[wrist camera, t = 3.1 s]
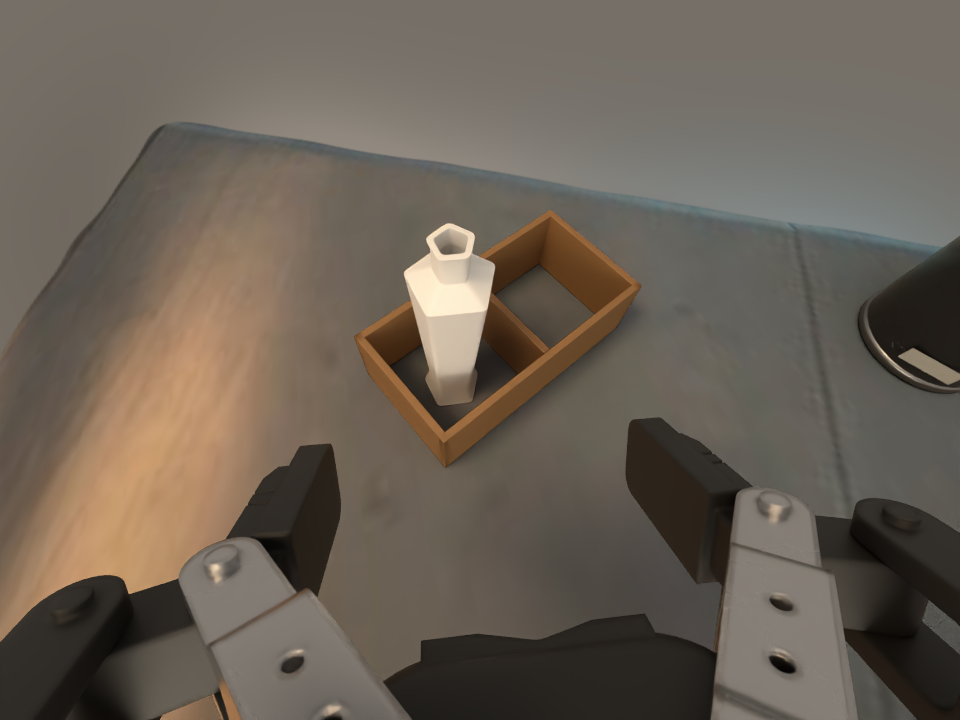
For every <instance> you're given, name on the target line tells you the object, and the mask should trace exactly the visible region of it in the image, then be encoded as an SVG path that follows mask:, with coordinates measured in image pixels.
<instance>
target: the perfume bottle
mask: <svg viewBox="0 0 960 720" xmlns="http://www.w3.org/2000/svg"><path fill="white" fill-rule="evenodd" d="M474 240H475V236H474V234H473V233H472V232H470V231H467V230H465V229H463V228H460V227H458V226H456V225H453V224H450V223H449V224H445V225H443V226H442V227H440V228H439V229H438V230H436V231H435V232H433V233H432V234H430V235H429V236H428V237H427V239H426V241H427V243H428V245H429V247H430V253H429V254H428V255H427V256H425V257H424V258H422V259H421V260H420V261H418V262H417V263H415V264H414V265H412V266H411V267H410V268H408V269H407V270H406V271H405V272H404V276H405V280H406V283H407V287H408V291H409V295H410V299H411V302H412V306H413V310H414V314H415V318H416V322H417V325H418V329H419V333H420V337H421V341H422V344H423V348H424V352H425V356H426V360H427V363H428V367H429V371H428V373H427V375H426V377H425V381H426V383H427V385H428V387H429V389H430V391H431V393H432V395H433V397H434V399H435V401H436V403H437V405H439V406H445V405H453V404H461V403H469V402H471V401H472V400H473V397H474V391H475V386H476V380H477V371H476V369H475V367H474V366H475V362H476V357H477V353H478V348H479V344H480V339H481V335H482V331H483V326H484V322H485V317H486V313H487V308H488V303H489V298H490V293H491V287H492V282H493V276H494V271H495V265H494V263H492V262H490V261H488V260H486V259H483V258H481V257H479V256H476V255H474V254H472V249H473V244H474Z"/></svg>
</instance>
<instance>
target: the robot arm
mask: <svg viewBox="0 0 960 720" xmlns="http://www.w3.org/2000/svg"><path fill="white" fill-rule="evenodd" d="M859 327H860V331H861V335H862V337H863V339H864V341H865V343H866V345H867V347H868V348H869V350H870V351H871V352H872V354H873V355H874V356H875V357H876V359H877V360H878V361H879V362H880V363H881V364H882V365H883V366H885V367H886V368H887V369H888V370H889V371H891V372H892V373H893V374H895V375H896V376H897V377H899V378H901V379H902V380H904V381H906V382H908V383H910V384H912V385H914V386H916V387H919V388H922V389H925V390H928V391H932V392H938V393H956V392H960V236H959V237H957V238H956V239H955V240H953V241H952V242H951V243H949V244H948V245H947V246H945V247H943V248H942V249H941V250H939V251H938V252H936V253H935V254H934V255H932V256H931V257H929V258H928V259H927V260H925V261H924V262H922V263H921V264H920V265H918V266H917V267H915V268H914V269H912V270H911V271H909V272H908V273H907V274H905V275H904V276H902V277H901V278H900V279H898V280H897V281H895V282H894V283H893V284H891V285H890V286H888V287H887V288H886V289H884V290H882V291H880V292H878V293H876V294H875V295H874V296H872V297H871V298H869V299H868V300H867V301H866V302H865V303H864V304H863V306H862V308H861V310H860V314H859ZM626 481H627V485H628V488H629V490H630V492H631V494H632V495H633V497H634V498H635V499H636V501H637V502H638V504H639V505H640V506H641V508H642V509H643V510H644V512H645V513H646V515H647V516H648V517H649V519H650V520H651V522H652V523H653V524H654V526H655V527H656V528H657V530H658V531H659V533H660V534H661V535H662V537H663V538H664V539H665V541H666V542H667V544H668V545H669V546H670V548H671V549H672V550H673V552H674V553H675V555H676V556H677V557H678V559H679V560H680V561H681V563H682V564H683V566H684V567H685V568H686V570H687V571H688V572H689V574H690V575H691V577H692V578H693V579H694V581H695V582H696V583H697V584H701V583H709V582H719V583H720V584H721V585H722V588H721V595H720V601H719V609H718V616H717V624H716V632H715V639H714V647H713V651H711V650H709V649H707V648H705V647H703V646H701V645H698V644H696V643H694V642H691V641H688V640H685V639H682V638H679V637H676V636H671V635H667V634H662V633H655V631H654V629H653V627H652V626H651V624H650V622H649V620H648V618H647V616H646V615H645V614H637V615H629V616H621V617H612V618H604V619H596V620H591V621H588V622H585V623H583V624H580V625H578V626H575V627H573V628H570V629H567V630H565V631H562V632H560V633H557V634H555V635H552V636H549V637H547V638H544V639H540V640H530V639H521V638H511V637H502V636H493V635H484V634H473V635H464V636H456V637H448V638H440V639H431V640H423V641H421V661H420V662H418V663H415V664H413V665H410V666H408V667H406V668H404V669H402V670H401V671H399V672H397V673H395V674H394V675H392V676H391V677H389V678H388V679H386V680H385V681H383V682H382V680H381V679H380V678H379V677H378V675H377V674H376V673H375V671H374V670H373V669H372V668H371V666H370V665H369V664H368V662H367V661H366V660H365V659H364V657H363V656H362V655H361V653H360V652H359V651H358V650H357V648H356V647H355V646H354V645H353V643H352V642H351V641H350V639H349V638H348V637H347V636H346V634H345V633H344V632H343V630H342V629H341V628H340V627H339V625H338V624H337V623H336V621H335V620H334V619H333V618H332V616H331V615H330V614H329V612H328V611H327V610H326V609H325V607H324V606H323V605H322V603H321V602H320V601H319V600H318V598H317V596H318V593H319V589H320V586H321V582H322V579H323V576H324V572H325V569H326V565H327V562H328V558H329V555H330V551H331V548H332V544H333V541H334V537H335V534H336V531H337V527H338V524H339V520H340V512H341V499H340V491H339V484H338V477H337V471H336V464H335V457H334V451H333V448H332V445H331V444H318V445H306V446H300V447H299V448H298V450H297V452H296V454H295V456H294V458H293V459H292V461H291V463H290V465H289V466H282V467H278V468H277V469H275V470H274V471H273V472H271V473H270V474H269V475H268V476H266V477H265V478H264V479H263V480H262V482H261V483H260V485H259V486H258V488H257V490H256V491H255V495H253V496H252V498H251V499H250V501H249V502H248V506H246V507H245V509H244V511H243V512H242V514H241V515H240V517H239V519H238V520H237V522H236V523H235V525H234V527H233V528H232V530H231V531H230V533H229V535H228V536H227V538H226V539H225V540H223V541H219V542H217V543H214V544H212V545H210V546H208V547H206V548H204V549H202V550H201V551H199V552H198V553H196V554H195V555H194V556H192V557H191V558H190V559H189V560H188V561H187V562H186V563H185V565H184V566H183V567H182V569H181V571H180V573H179V578H178V579H176V580H173V581H170V582H167V583H164V584H161V585H158V586H154V587H151V588H148V589H145V590H142V591H138V592H135V593H132V594H128V591H127V588H126V585H125V582H124V581H123V579H121V578H120V577H117V576H113V575H103V576H96V577H91V578H87V579H84V580H81V581H78V582H75V583H73V584H71V585H68V586H66V587H64V588H62V589H60V590H58V591H56V592H55V593H53V594H51V595H50V596H48V597H47V598H45V599H44V600H42V601H41V602H39V603H38V604H37V605H36V606H35V607H33V608H32V609H31V610H30V611H29V612H28V613H27V614H26V615H25V616H24V617H23V618H22V619H21V621H20V622H19V623H18V624H17V625H16V626H15V627H14V628H13V629H12V630H11V631H10V632H9V633H8V635H7V636H6V637H5V638H4V639H3V640H2V641H1V642H0V720H160V718H161V716H162V715H163V714H166V713H168V712H171V711H173V710H176V709H178V708H180V707H183V706H185V705H188V704H190V703H193V702H195V701H198V700H200V699H202V698H205V697H207V696H210V695H213V698H214V701H215V703H216V706H217V709H218V711H219V714H220V716H221V719H222V720H858V715H857V709H856V703H855V697H854V691H853V685H852V679H851V673H850V667H849V661H848V655H847V649H846V642H845V640H846V641H847V642H848V643H849V645H850V646H851V647H852V648H853V649H854V650H855V651H856V652H857V653H858V654H859V656H860V657H861V658H862V659H863V660H864V661H865V662H866V663H867V664H868V665H869V667H870V668H871V669H872V670H873V671H874V672H875V673H876V674H877V675H878V677H879V678H880V679H881V680H882V681H883V682H884V683H885V684H886V685H887V686H888V688H889V689H890V690H891V691H892V692H893V693H894V694H895V695H896V696H897V697H898V699H899V700H900V701H901V702H902V703H903V704H904V705H905V706H906V707H907V708H908V710H909V711H910V712H911V713H912V714H913V715H914V716H915V717H916V718H917V719H918V720H960V655H959V654H958V653H957V652H956V651H955V650H954V649H953V648H951V647H950V646H949V645H948V644H947V643H946V642H945V641H943V640H942V639H941V638H940V637H939V636H938V635H937V634H936V633H934V632H933V631H932V630H931V629H930V628H929V627H928V626H926V625H925V624H924V623H923V622H922V618H923V615H924V612H925V609H926V606H927V603H928V600H930V601H931V602H932V603H933V604H934V605H936V606H937V607H938V608H939V609H941V610H942V611H943V612H944V613H945V614H947V615H948V616H949V617H950V618H951V619H953V620H954V621H955V622H956V623H957V624H958V625H959V626H960V533H959V532H957V531H955V530H954V529H952V528H951V527H949V526H948V525H946V524H945V523H943V522H941V521H940V520H938V519H937V518H935V517H933V516H932V515H930V514H928V513H926V512H924V511H922V510H920V509H918V508H915V507H913V506H910V505H907V504H904V503H901V502H897V501H892V500H887V499H879V498H868V499H863V500H860V501H858V502H857V503H856V506H855V510H854V514H853V518H852V519H843V518H834V517H824V516H815V515H814V512H813V511H812V509H811V508H810V507H809V506H808V505H807V504H806V503H804V502H803V501H801V500H800V499H798V498H796V497H795V496H793V495H790V494H788V493H785V492H782V491H779V490H775V489H771V488H764V487H753V486H752V485H750V484H749V483H748V482H747V481H746V480H744V479H743V478H742V477H741V476H740V475H739V474H737V473H736V472H735V471H734V470H733V469H731V468H730V467H729V466H728V465H727V464H725V463H722V460H721V459H719V458H718V457H717V456H716V455H715V454H712V452H711V451H710V450H709V449H708V448H706V447H705V446H704V445H703V444H702V443H700V442H699V441H697V440H695V439H693V438H690V437H688V436H686V435H684V434H682V433H680V434H679V433H678V432H677V431H676V430H674V429H673V428H672V427H671V426H670V425H669V424H668V423H666V422H665V421H664V420H663V419H662V418H647V419H634V420H632V421H631V422H630V424H629V429H628V442H627V456H626Z"/></svg>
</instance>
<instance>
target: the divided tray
mask: <svg viewBox="0 0 960 720" xmlns="http://www.w3.org/2000/svg"><path fill="white" fill-rule="evenodd" d="M479 257H481V258H483V259H486V260H488V261H490V262H492V263H494V265H495V271H494V276H493V282H492V287H491V293H490V298H489V303H488V308H487V313H486V317H485V322H484V326H483V331H482V335H481V337H482V338H483V339H484V340H485V341H486V342H487V343H488V344H489V345H490V346H491V347H492V348H493V349H494V350H495V351H496V352H497V353H498V354H499V355H500V356H501V357H502V358H503V359H504V360H505V361H506V362H507V363H508V364H509V366H510V367H511V368H512V369H513V370H514V371H515V372H516V373H517V374H518V375H517V376H516V377H514V378H513V379H512V380H510V381H509V382H508V383H507V384H505V385H504V386H503V387H502V388H500V389H499V390H498V391H496V392H495V393H494V394H493V395H491V396H490V397H489V398H488V399H486V400H485V401H484V402H482V403H481V404H480V405H479V406H477V407H476V408H475V409H474V410H472V411H471V412H470V413H469V414H467V415H466V416H465V417H463V418H462V419H461V420H460V421H458V422H457V423H456V424H455V425H453V426H452V427H451V428H449V429H448V430H447V431H446V432H444V430H443V429H442V428H441V427H440V426H439V424H438V423H437V422H436V421H435V420H434V419H433V417H432V416H431V415H430V414H429V413H428V412H427V410H426V409H425V408H424V407H423V406H422V404H421V403H420V402H419V401H418V400H417V399H416V397H415V396H414V395H413V394H412V393H411V391H410V390H409V389H408V388H407V387H406V386H405V384H404V383H403V382H402V381H401V380H400V379H399V377H398V376H397V375H396V374H395V373H394V371H393V370H392V369H391V368H390V367H389V366H391V365H392V364H394V363H395V362H397V361H398V360H400V359H401V358H403V357H404V356H405V355H407V354H408V353H410V352H411V351H413V350H414V349H416V348H417V347H418V346H420V345H421V344H422V341H421V337H420V333H419V329H418V325H417V322H416V318H415V314H414V310H413V306H412V302H411V300H410V301H408V302H407V303H405V304H404V305H402V306H400V307H399V308H397V309H396V310H394V311H393V312H391V313H390V314H388V315H386V316H385V317H383V318H382V319H380V320H379V321H377V322H376V323H374V324H372V325H371V326H369V327H368V328H366V329H365V330H363V331H362V332H360V333H359V334H357V335H355V336H354V338H355V341H356V343H357V346H358V349H359V351H360V354H361V356H362V359H363V362H364V364H365V367H366V369H367V372H368V374H369V376H370V377H371V378H372V379H373V381H374V382H375V383H376V384H377V385H378V387H379V388H380V389H381V390H382V391H383V393H384V394H385V395H386V396H387V398H388V399H389V400H390V401H391V402H392V404H393V405H394V406H395V407H396V408H397V410H398V411H399V412H400V413H401V415H402V416H403V417H404V418H405V419H406V421H407V422H408V423H409V424H410V426H411V427H412V428H413V429H414V430H415V432H416V433H417V434H418V435H419V436H420V438H421V439H422V440H423V441H424V443H425V444H426V445H427V446H428V447H429V449H430V450H431V451H432V452H433V453H434V455H435V456H436V457H437V458H438V460H439V461H440V462H441V463H442V464H443V466H444V467H447V466H448V465H449V464H450V463H452V462H453V461H454V460H455V459H457V458H458V457H459V456H460V455H461V454H463V453H464V452H465V451H466V450H468V449H469V448H470V447H471V446H472V445H474V444H475V443H476V442H477V441H479V440H480V439H481V438H482V437H483V436H485V435H486V434H487V433H488V432H490V431H491V430H492V429H493V428H494V427H496V426H497V425H498V424H499V423H501V422H502V421H503V420H504V419H505V418H507V417H508V416H509V415H510V414H512V413H513V412H514V411H515V410H516V409H518V408H519V407H520V406H521V405H522V404H524V403H525V402H526V401H527V400H529V399H530V398H531V397H532V396H533V395H535V394H536V393H537V392H538V391H540V390H541V389H542V388H543V387H544V386H546V385H547V384H548V383H549V382H551V381H552V380H553V379H554V378H555V377H557V376H558V375H559V374H560V373H562V372H563V371H564V370H565V369H566V368H568V367H569V366H570V365H571V364H573V363H574V362H575V361H576V360H577V359H579V358H580V357H581V356H582V355H584V354H585V353H586V352H587V351H588V350H590V349H591V348H592V347H593V346H594V345H596V344H597V343H598V342H599V341H601V340H602V339H603V338H604V337H605V336H607V335H608V334H609V333H610V332H612V331H613V330H614V329H615V328H616V327H617V326H618V324H619V323H620V321H621V320H622V318H623V316H624V315H625V313H626V311H627V310H628V308H629V306H630V305H631V303H632V301H633V300H634V298H635V296H636V295H637V293H638V291H639V290H640V288H641V285H640V284H639V283H638V282H637V281H636V280H634V279H633V278H632V277H631V276H630V275H628V274H627V273H626V272H625V271H624V270H622V269H621V268H620V267H619V266H618V265H616V264H615V263H614V262H613V261H612V260H610V259H609V258H608V257H607V256H606V255H604V254H603V253H602V252H601V251H600V250H598V249H597V248H596V247H595V246H594V245H592V244H591V243H590V242H589V241H588V240H586V239H585V238H584V237H583V236H582V235H580V234H579V233H578V232H577V231H576V230H574V229H573V228H572V227H571V226H570V225H568V224H567V223H566V222H565V221H564V220H562V219H561V218H560V217H559V216H558V215H556V214H555V213H554V212H553V211H552V210H550V211H548V212H547V213H545V214H543V215H542V216H540V217H539V218H537V219H536V220H534V221H533V222H531V223H530V224H528V225H526V226H525V227H523V228H522V229H520V230H519V231H517V232H516V233H514V234H512V235H511V236H509V237H508V238H506V239H505V240H503V241H502V242H500V243H498V244H497V245H495V246H494V247H492V248H491V249H489V250H488V251H486V252H484V253H483V254H481V255H480V256H479ZM537 264H540V265H541V266H542V267H543V268H544V269H545V270H547V271H548V272H549V273H550V274H551V275H552V276H553V277H554V278H556V279H557V280H558V281H559V282H560V283H561V284H562V285H563V286H564V287H566V288H567V289H568V290H569V291H570V292H571V293H572V294H573V295H574V296H576V297H577V298H578V299H579V300H580V301H581V302H582V303H583V304H585V305H586V306H587V307H588V308H589V309H590V310H591V311H592V312H593V313H595V314H594V315H593V316H592V317H591V318H589V319H588V320H587V321H586V322H584V323H583V324H582V325H580V326H579V327H578V328H577V329H575V330H574V331H573V332H572V333H570V334H569V335H568V336H566V337H565V338H564V339H563V340H561V341H560V342H559V343H558V344H556V345H555V346H554V347H552V348H551V349H549V348H548V347H547V346H546V345H545V344H544V343H543V342H542V341H541V340H540V339H539V338H538V337H537V336H536V335H535V334H534V333H533V332H532V331H531V330H530V329H529V328H528V327H527V326H526V325H524V324H523V323H522V322H521V321H520V320H519V319H518V318H517V317H516V316H515V315H514V314H513V313H512V312H511V311H510V310H509V309H508V308H507V307H506V306H505V305H504V304H503V303H502V302H501V301H500V300H499V299H498V298H497V297H496V296H495V295H494V294H495V293H497V292H498V291H500V290H501V289H503V288H504V287H505V286H507V285H508V284H510V283H511V282H513V281H514V280H516V279H517V278H518V277H520V276H521V275H523V274H524V273H526V272H527V271H529V270H530V269H532V268H533V267H534V266H536V265H537Z"/></svg>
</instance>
